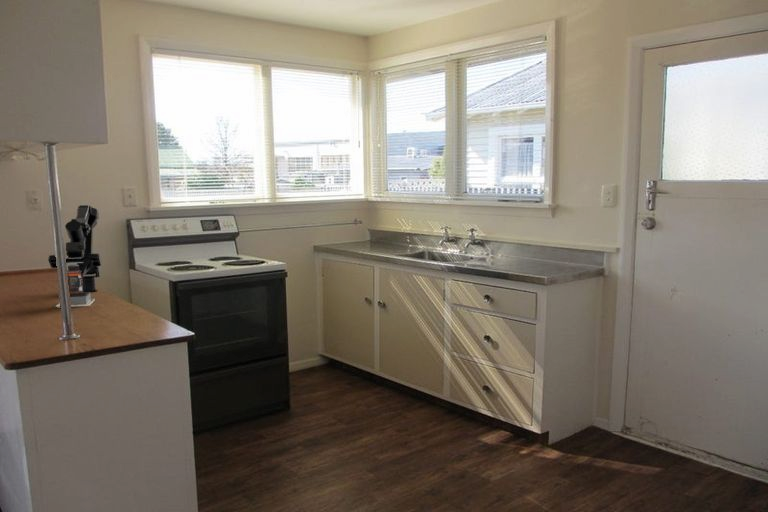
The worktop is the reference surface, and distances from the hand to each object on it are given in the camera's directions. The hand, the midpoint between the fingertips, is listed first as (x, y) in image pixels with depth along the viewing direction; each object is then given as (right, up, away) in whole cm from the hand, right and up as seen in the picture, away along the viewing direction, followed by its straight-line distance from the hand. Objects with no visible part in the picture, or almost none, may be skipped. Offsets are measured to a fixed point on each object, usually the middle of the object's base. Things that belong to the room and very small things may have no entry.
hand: (73, 277), depth 246 cm
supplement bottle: (0, -7, +2) cm, 7 cm away
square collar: (0, -11, +2) cm, 11 cm away
